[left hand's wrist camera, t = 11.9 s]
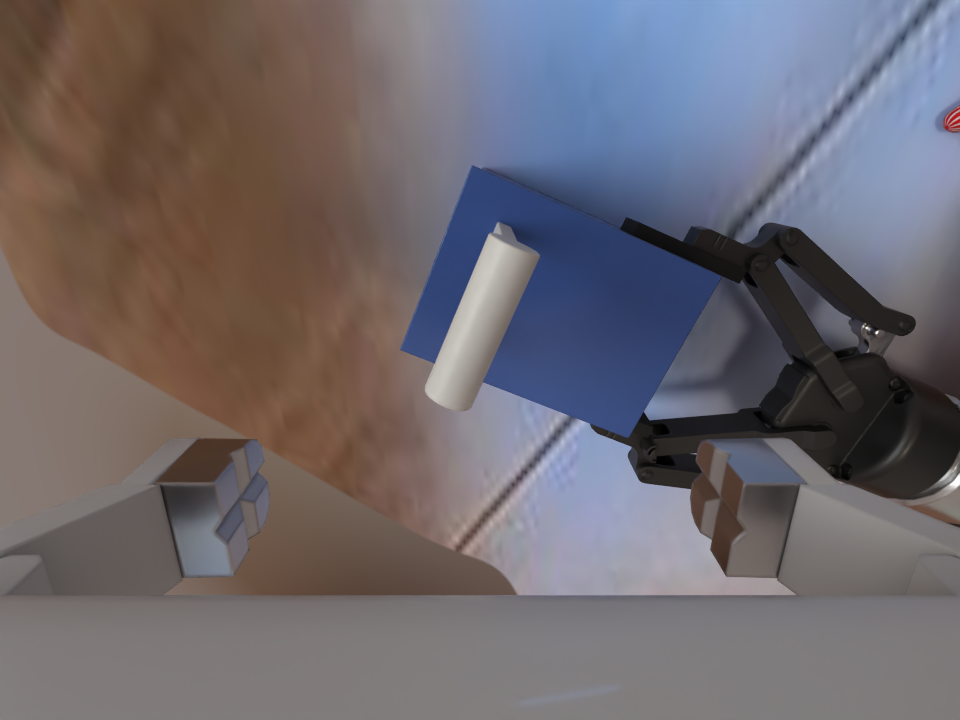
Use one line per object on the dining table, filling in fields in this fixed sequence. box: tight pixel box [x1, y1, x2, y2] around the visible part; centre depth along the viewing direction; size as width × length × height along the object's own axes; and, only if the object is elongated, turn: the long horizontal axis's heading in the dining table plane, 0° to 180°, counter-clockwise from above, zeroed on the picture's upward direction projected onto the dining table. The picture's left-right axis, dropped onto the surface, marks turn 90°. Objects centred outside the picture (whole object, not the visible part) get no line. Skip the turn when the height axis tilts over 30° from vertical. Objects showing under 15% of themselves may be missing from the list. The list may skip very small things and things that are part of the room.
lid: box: [400, 166, 722, 438], centre depth 23 cm, size 13×10×9 cm
